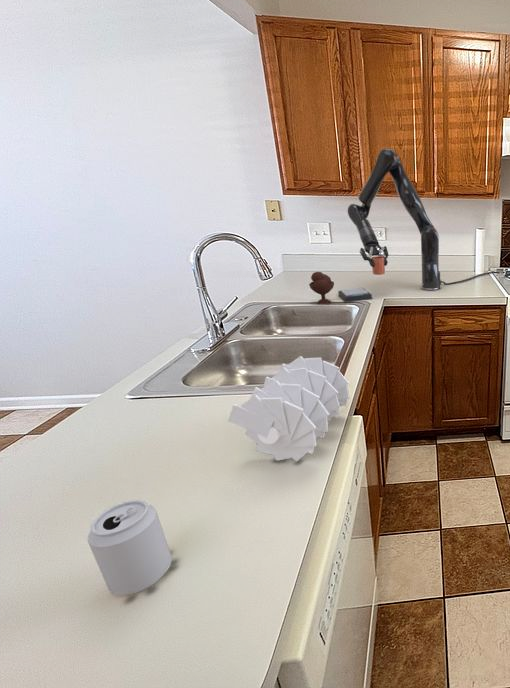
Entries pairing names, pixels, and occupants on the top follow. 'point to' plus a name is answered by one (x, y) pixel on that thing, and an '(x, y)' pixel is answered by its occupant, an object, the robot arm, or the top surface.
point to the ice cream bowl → (321, 285)
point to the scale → (354, 294)
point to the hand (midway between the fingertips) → (379, 265)
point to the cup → (378, 265)
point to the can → (129, 547)
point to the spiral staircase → (293, 408)
